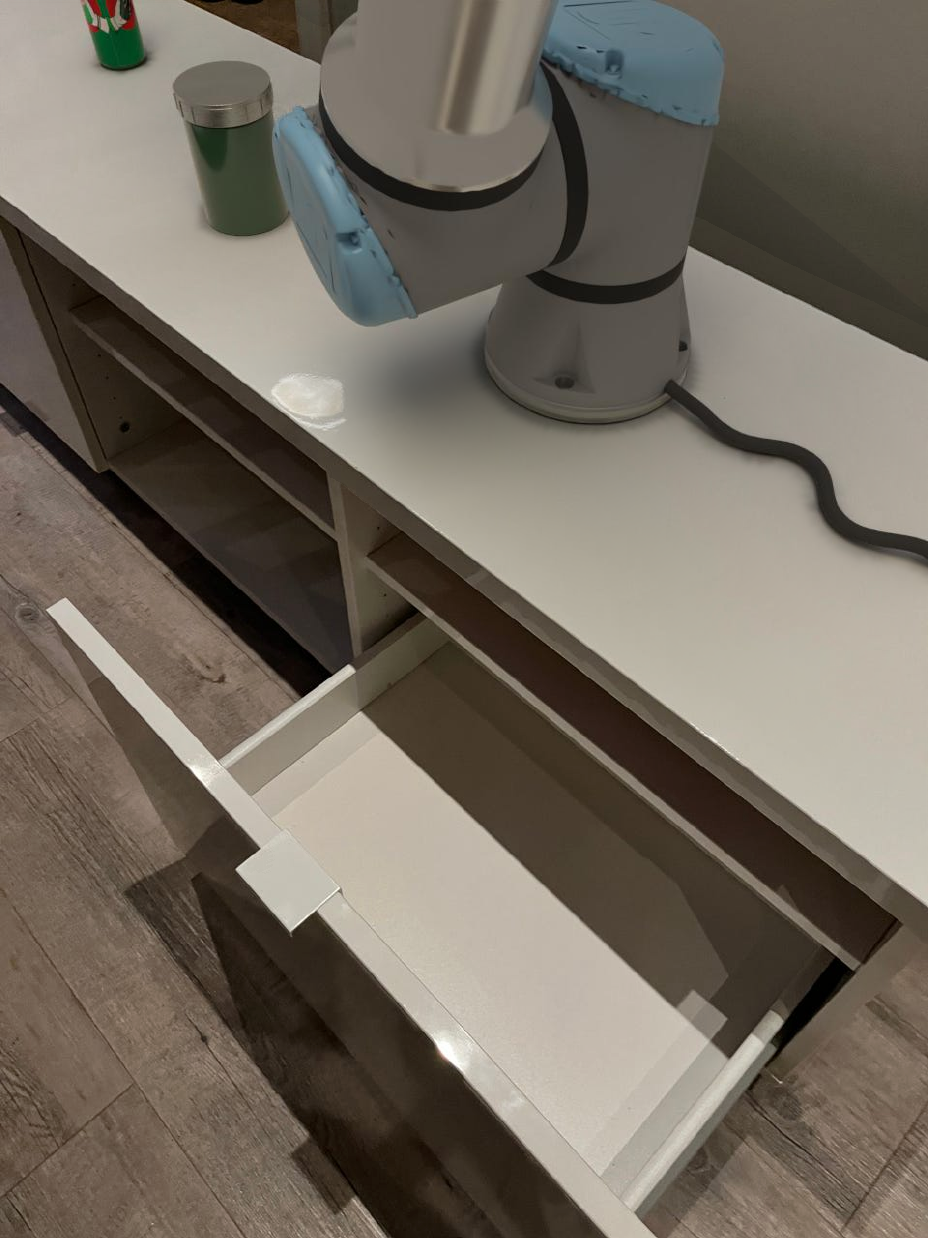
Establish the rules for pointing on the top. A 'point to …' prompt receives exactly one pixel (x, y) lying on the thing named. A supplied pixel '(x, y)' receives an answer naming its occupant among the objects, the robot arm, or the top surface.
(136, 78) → the top surface
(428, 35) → the robot arm
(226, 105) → the lid
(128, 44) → the soda can
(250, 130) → the jar
